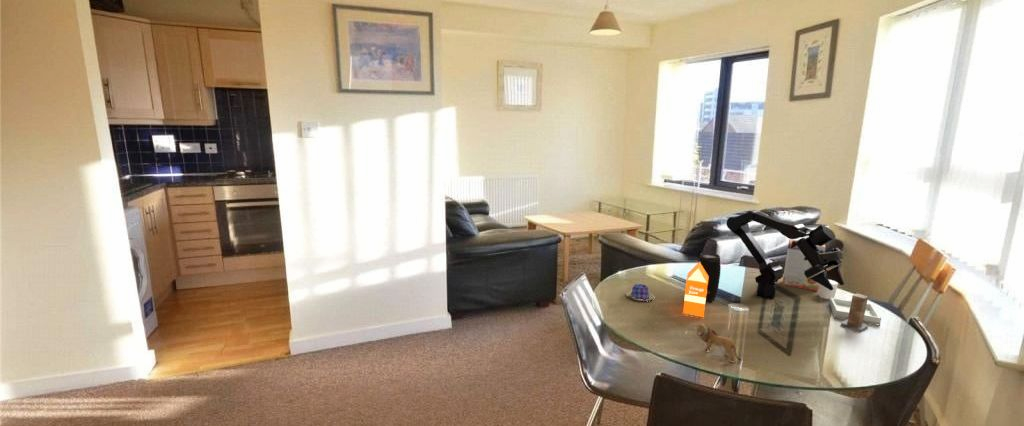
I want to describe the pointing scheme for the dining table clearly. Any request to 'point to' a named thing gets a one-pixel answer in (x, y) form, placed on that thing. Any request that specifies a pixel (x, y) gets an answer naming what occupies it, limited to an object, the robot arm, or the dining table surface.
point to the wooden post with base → (856, 313)
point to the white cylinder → (827, 290)
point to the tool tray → (843, 308)
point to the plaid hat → (640, 292)
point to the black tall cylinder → (711, 273)
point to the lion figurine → (716, 340)
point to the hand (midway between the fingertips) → (837, 287)
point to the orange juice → (696, 291)
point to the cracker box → (798, 269)
